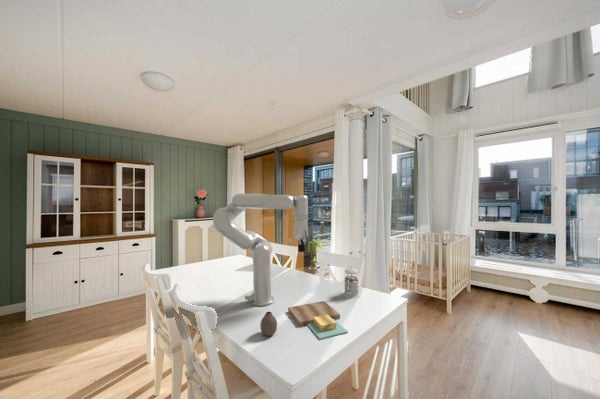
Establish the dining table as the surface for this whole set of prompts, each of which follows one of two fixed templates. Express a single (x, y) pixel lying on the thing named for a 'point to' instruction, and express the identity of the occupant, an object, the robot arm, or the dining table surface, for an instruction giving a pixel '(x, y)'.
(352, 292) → the french press
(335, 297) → the dining table surface
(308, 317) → the wooden board
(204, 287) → the dining table surface
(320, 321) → the yellow flat block
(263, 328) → the vase
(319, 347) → the dining table surface
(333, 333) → the mat
